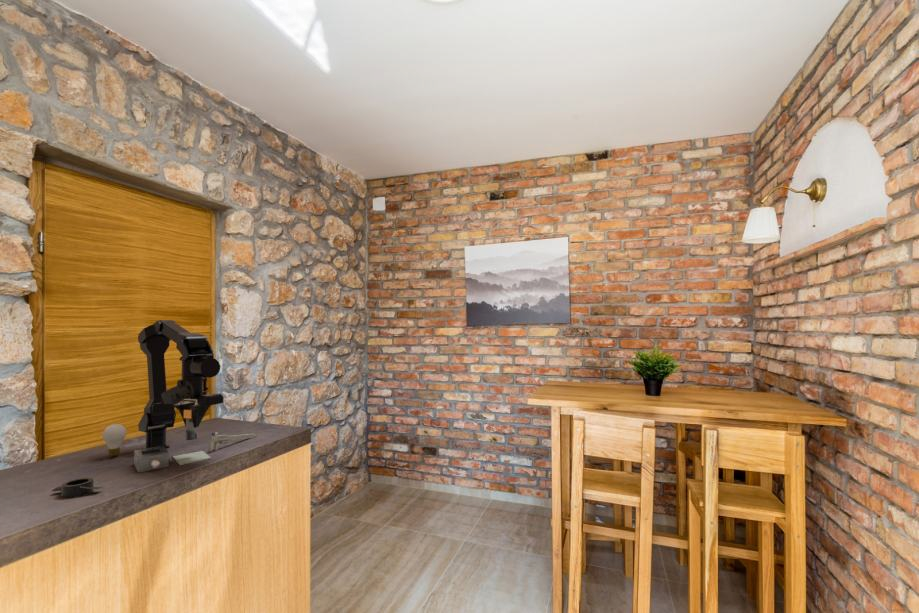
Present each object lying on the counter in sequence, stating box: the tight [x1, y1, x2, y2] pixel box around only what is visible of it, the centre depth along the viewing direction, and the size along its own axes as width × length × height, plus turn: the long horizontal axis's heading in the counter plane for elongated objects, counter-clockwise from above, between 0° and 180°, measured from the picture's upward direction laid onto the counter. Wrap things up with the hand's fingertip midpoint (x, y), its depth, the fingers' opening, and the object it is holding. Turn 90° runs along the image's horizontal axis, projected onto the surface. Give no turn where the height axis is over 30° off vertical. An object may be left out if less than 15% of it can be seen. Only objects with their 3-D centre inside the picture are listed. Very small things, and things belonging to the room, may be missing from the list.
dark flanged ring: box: [51, 477, 104, 499], centre depth 103 cm, size 8×10×3 cm
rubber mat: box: [172, 450, 212, 466], centre depth 129 cm, size 10×8×1 cm
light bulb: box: [101, 423, 127, 458], centre depth 132 cm, size 6×6×10 cm
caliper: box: [207, 431, 258, 453], centre depth 145 cm, size 20×1×6 cm, turn 165°
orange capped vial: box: [184, 408, 198, 441], centre depth 130 cm, size 3×3×9 cm
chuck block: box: [133, 446, 170, 473], centre depth 122 cm, size 14×7×4 cm, turn 43°
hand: (191, 427), depth 130 cm, fingers closed on orange capped vial, 3 cm apart
